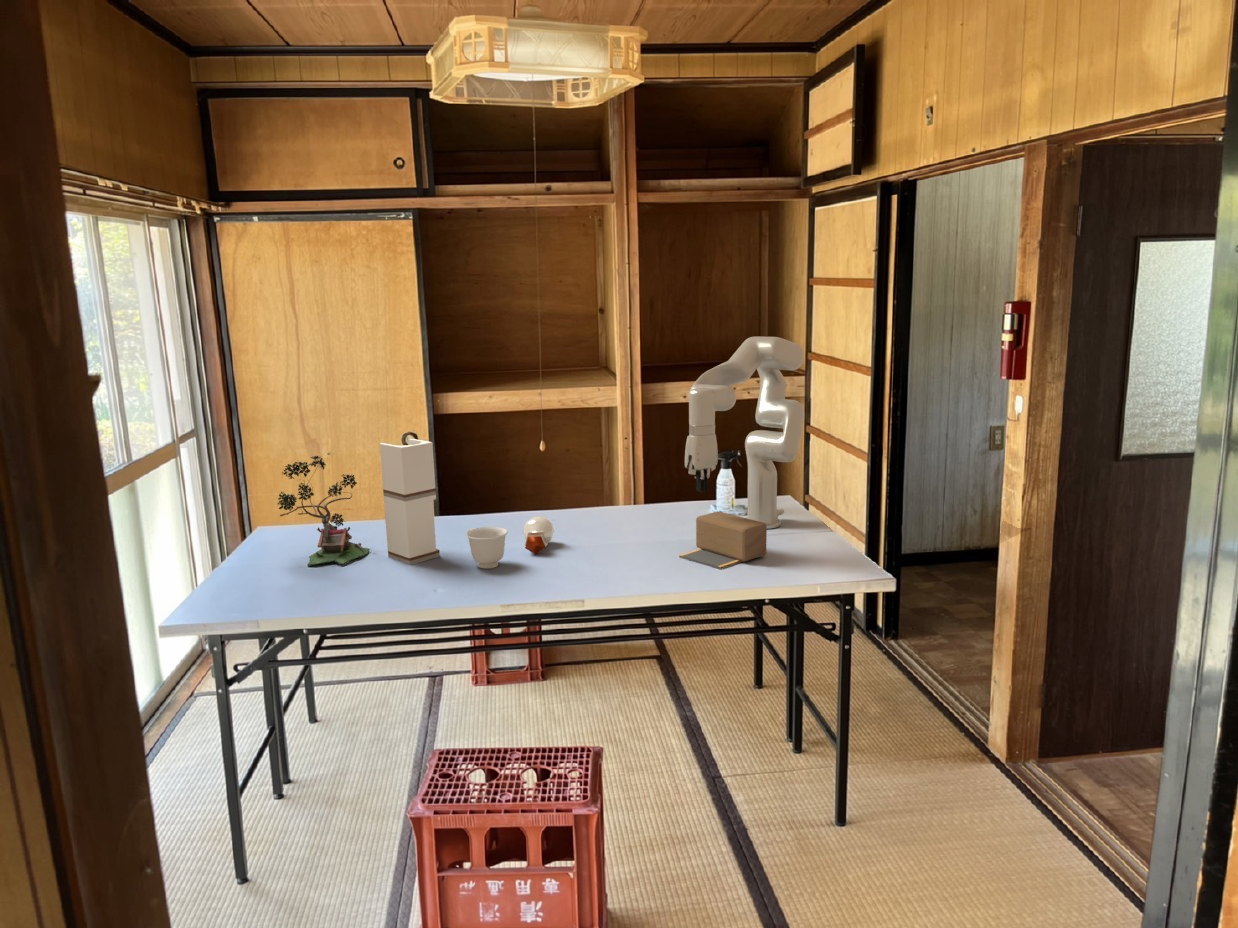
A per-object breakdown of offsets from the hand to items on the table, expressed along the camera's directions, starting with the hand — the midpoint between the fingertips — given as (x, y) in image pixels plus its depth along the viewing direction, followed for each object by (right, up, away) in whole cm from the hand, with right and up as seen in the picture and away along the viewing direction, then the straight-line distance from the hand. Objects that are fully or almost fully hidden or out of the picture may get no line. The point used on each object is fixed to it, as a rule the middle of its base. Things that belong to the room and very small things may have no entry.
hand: (702, 491), depth 257 cm
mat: (+5, -19, -1) cm, 20 cm away
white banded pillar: (-87, -20, +5) cm, 89 cm away
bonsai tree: (-114, -21, +2) cm, 116 cm away
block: (+2, -12, +7) cm, 14 cm away
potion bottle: (-49, -18, +11) cm, 54 cm away
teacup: (-64, -21, -4) cm, 67 cm away
